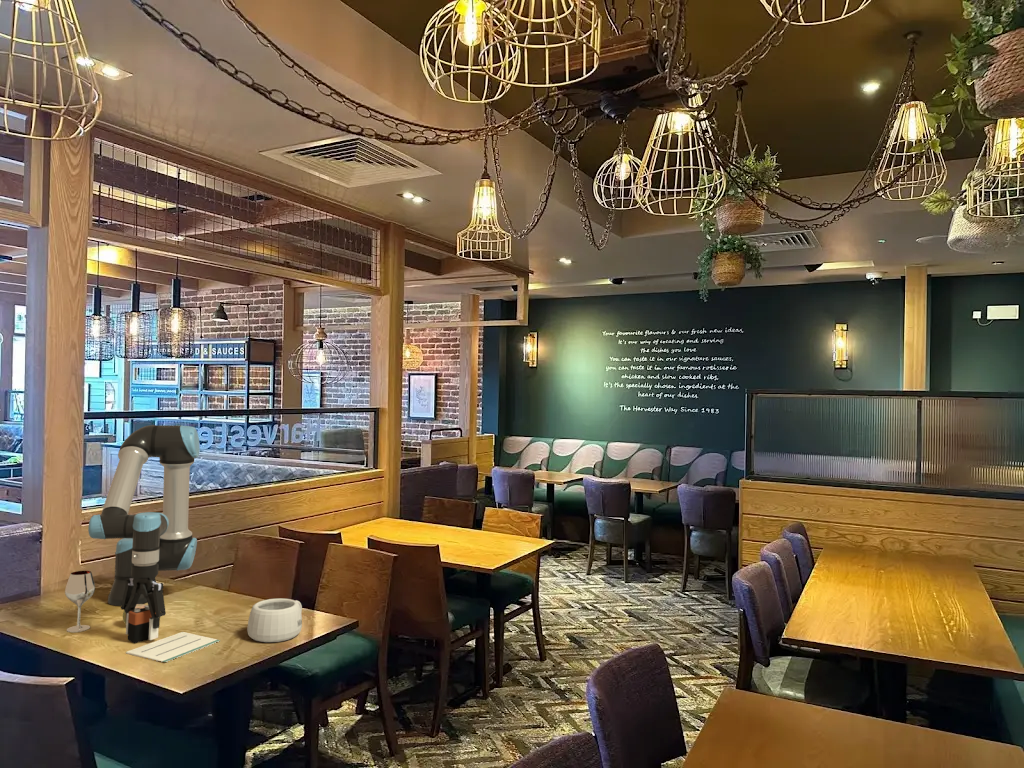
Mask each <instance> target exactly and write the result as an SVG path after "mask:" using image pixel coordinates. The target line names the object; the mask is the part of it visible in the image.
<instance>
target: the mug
mask: <svg viewBox="0 0 1024 768" xmlns="http://www.w3.org/2000/svg"><path fill="white" fill-rule="evenodd" d="M302 611H303V606H302V603H301V602H300V601H299V600H297V599H296V600H294V599H290V598H269V599H263V600H260V601H258V602H256V603H254V604H253V605H252V607H251V609H250V613H249V616H248V621H247V622H248V623H247V629H246V631H247V635H248V636H249V638H251V639H253V641H256V642H261V643H280V642H284V641H288V640H291V639H294V638H295V637H297V636H298V635H299V634H300V633H301V631H302V627H303V617H302V616H303V615H302Z"/></svg>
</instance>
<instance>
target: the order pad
mask: <svg viewBox="0 0 1024 768" xmlns="http://www.w3.org/2000/svg"><path fill="white" fill-rule="evenodd" d="M219 641H220V642H221V639H216V638H212V637H207V636H202V635H199V634H194V633H189V632H186V631H185V632H184V631H181V632H178V633H176V634H173V635H170V636H167V637H164V638H161V639H158V640H156V641H153V642H150V643H147V644H144V645H141V646H139V647H136V648H133V649H130V650H128V651H125V654H127V655H130V656H135V657H137V658H138V657H139V658H142V657H143V659H146V658H148V659H147V660H150V659H152V660H151V661H154V660H156V661H155V662H158V661H161V662H160V663H162V662H167V663H169V662H168V661H170V660H172V661H174V660H173V659H175V658H177V659H179V658H178V657H180V658H182V657H184V656H183V655H185V656H187V655H189V653H190V654H192V653H195V652H197V651H200V650H202V649H205V648H207V647H210V646H213V645H214V643H215V644H217V643H216V642H218V643H219ZM212 644H213V645H212ZM209 645H210V646H209ZM204 647H205V648H204ZM199 649H200V650H199ZM196 650H197V651H196ZM194 651H195V652H194ZM191 652H192V653H191ZM186 654H187V655H186ZM181 656H182V657H181ZM175 660H176V659H175ZM170 662H171V661H170Z"/></svg>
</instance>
